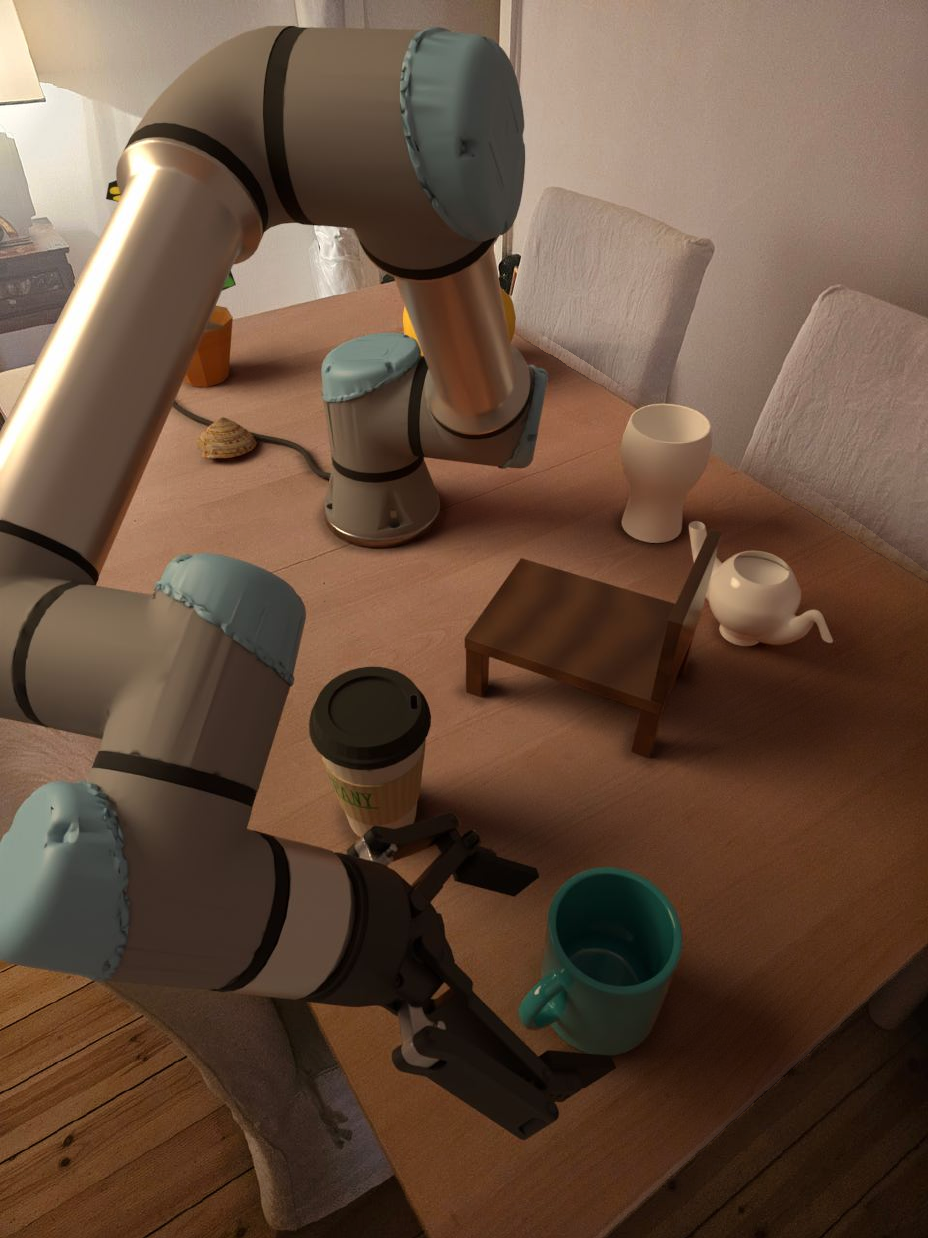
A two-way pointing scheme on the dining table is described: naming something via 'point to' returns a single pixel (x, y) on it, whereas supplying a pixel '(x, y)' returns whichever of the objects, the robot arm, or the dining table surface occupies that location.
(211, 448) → the seashell
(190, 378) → the potted plant
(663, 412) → the cup
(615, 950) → the cup
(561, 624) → the wooden toy chair
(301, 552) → the dining table surface
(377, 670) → the coffee cup
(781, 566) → the teapot
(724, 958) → the dining table surface
